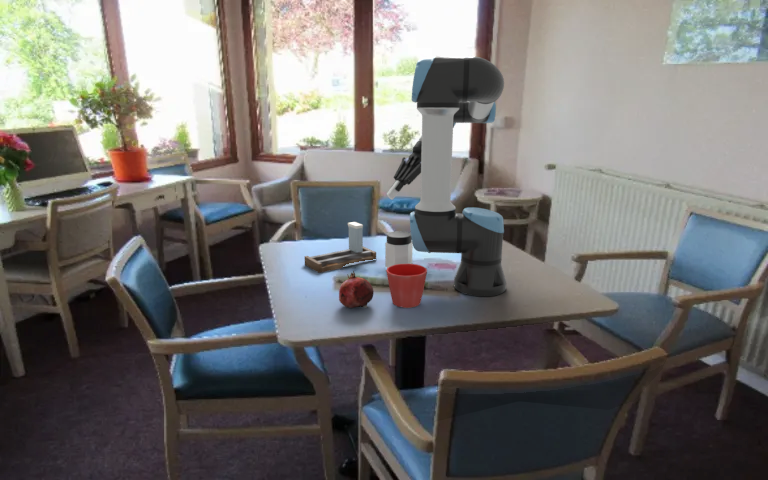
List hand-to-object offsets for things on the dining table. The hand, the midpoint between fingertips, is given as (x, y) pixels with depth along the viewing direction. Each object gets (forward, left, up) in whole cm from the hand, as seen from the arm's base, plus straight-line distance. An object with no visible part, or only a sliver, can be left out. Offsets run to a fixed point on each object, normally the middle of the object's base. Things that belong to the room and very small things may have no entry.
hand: (389, 197), depth 176 cm
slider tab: (-11, +10, -19) cm, 24 cm away
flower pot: (-45, -12, -21) cm, 51 cm away
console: (-15, +14, -20) cm, 29 cm away
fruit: (-50, +1, -21) cm, 54 cm away
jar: (-18, -6, -21) cm, 28 cm away
